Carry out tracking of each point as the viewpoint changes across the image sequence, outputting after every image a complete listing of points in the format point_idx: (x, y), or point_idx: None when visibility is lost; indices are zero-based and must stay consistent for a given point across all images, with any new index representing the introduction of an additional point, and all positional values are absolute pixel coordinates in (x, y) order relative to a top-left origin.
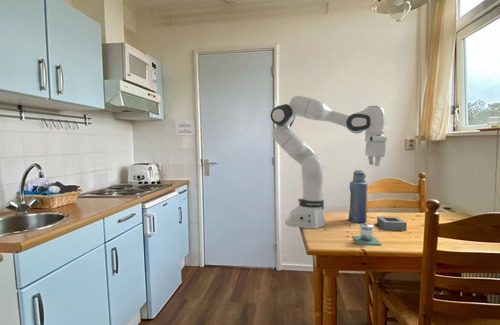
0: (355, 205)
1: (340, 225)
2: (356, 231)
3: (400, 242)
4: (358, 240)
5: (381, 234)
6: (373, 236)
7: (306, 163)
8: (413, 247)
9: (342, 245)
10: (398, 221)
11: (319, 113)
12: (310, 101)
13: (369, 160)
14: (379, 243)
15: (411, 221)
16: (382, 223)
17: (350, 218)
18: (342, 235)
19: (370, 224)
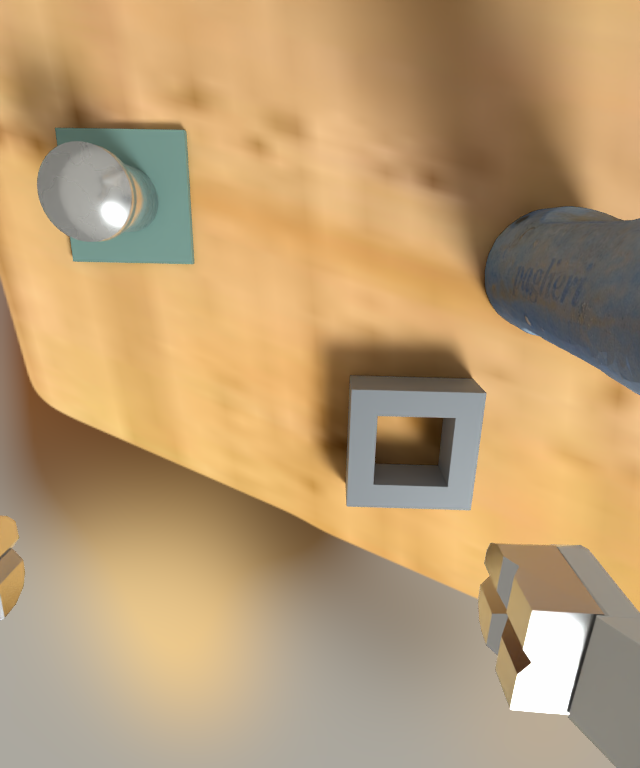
0: (547, 243)
1: (427, 108)
2: (298, 191)
3: (143, 374)
4: (102, 144)
5: (258, 326)
6: (190, 260)
7: None
8: (86, 404)
9: (19, 20)
10: (369, 474)
11: None
12: None
13: (630, 646)
14: (80, 254)
15: None
16: (383, 384)
17: (534, 212)
18: (205, 67)
19: (101, 224)
